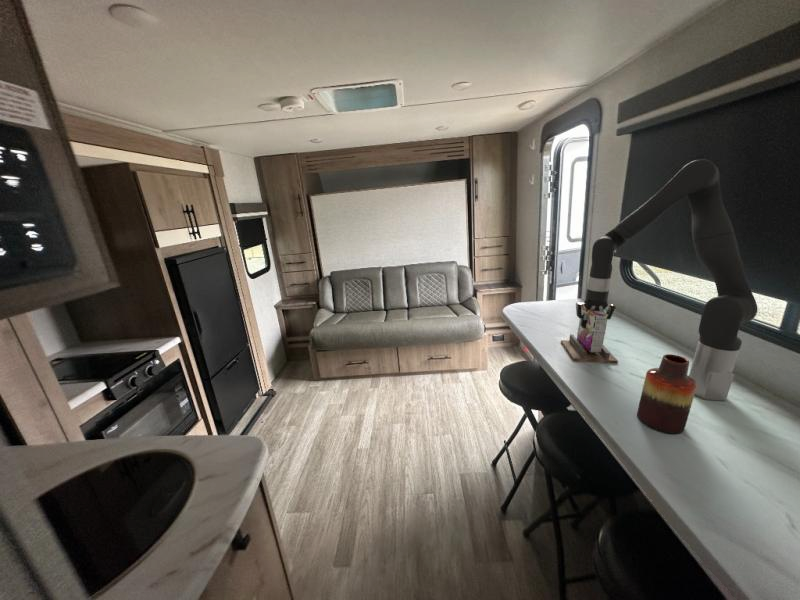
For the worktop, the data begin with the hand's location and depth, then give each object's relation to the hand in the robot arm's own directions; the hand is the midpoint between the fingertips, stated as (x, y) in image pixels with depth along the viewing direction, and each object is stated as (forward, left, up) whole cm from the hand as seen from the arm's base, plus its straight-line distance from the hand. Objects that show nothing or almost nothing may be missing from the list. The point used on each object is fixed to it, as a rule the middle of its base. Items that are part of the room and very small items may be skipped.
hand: (591, 327), depth 130 cm
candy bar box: (0, 0, -9) cm, 9 cm away
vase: (-43, -5, -11) cm, 45 cm away
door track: (0, 0, -11) cm, 11 cm away
